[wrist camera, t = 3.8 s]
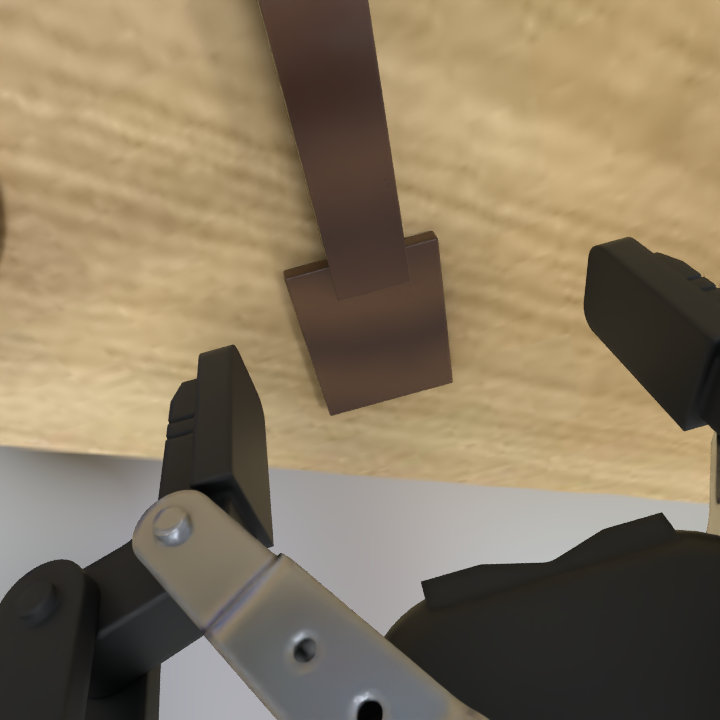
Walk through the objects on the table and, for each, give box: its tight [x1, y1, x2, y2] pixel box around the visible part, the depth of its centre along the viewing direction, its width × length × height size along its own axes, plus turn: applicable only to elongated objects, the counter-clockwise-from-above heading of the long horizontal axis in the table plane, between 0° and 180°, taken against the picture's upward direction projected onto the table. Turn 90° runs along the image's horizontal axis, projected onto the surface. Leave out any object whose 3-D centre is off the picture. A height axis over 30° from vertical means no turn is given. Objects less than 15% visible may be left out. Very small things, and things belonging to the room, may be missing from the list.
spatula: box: [257, 0, 453, 416], centre depth 20 cm, size 24×7×4 cm, turn 11°
